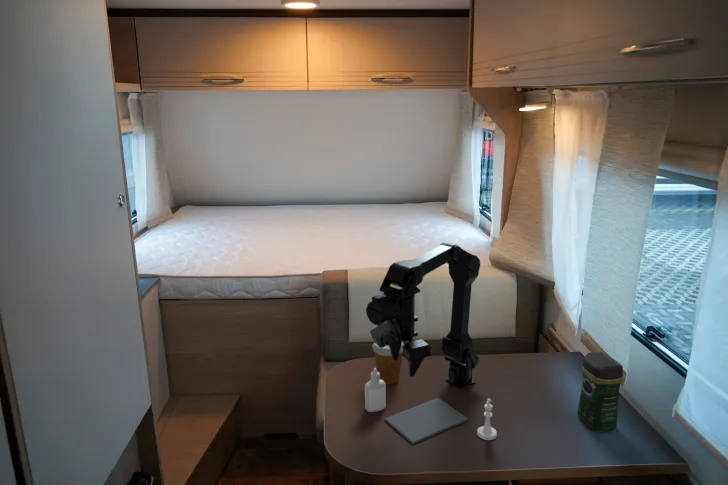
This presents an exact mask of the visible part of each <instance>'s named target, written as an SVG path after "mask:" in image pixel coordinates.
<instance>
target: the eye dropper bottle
mask: <svg viewBox="0 0 728 485" xmlns="http://www.w3.org/2000/svg"><path fill="white" fill-rule="evenodd" d="M386 386H387V384H385V382H384V381H383V380H381V379H380V373H379V372H377V367H373V371H371V372H370V380H369V381H367V382H366V383H365V385H364V409H365V410H366V412H368V413H376V412H380V411H383V410H384V409H386V407H387V392H386V390H387V387H386Z"/></svg>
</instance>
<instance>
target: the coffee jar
mask: <svg viewBox="0 0 728 485" xmlns="http://www.w3.org/2000/svg"><path fill="white" fill-rule="evenodd" d="M581 365H582V382H581V389H580V396H579V400H578V401H579V402H578V406H577V414H576V415H577V417H578V418H579V420H580V421H581V423H583V425H585V426H586V427H587V428H589V429H590V430H591V431H594V432H600V433H609V432H612V431H614V430H616V428H617V426H618V425H617V424H618V416H619V415H618V414H619V413H618V410H619V398H620V396H619V395H620V387H621V382H622V381H623V378H624V366H623V365H622V363H620V362H618V360H616V359H614V358H613V357H611V356H609V355H608V354H606V353H604V352H603V351H592V352H587V353H586V355H584V358H583V361H582V364H581Z"/></svg>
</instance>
